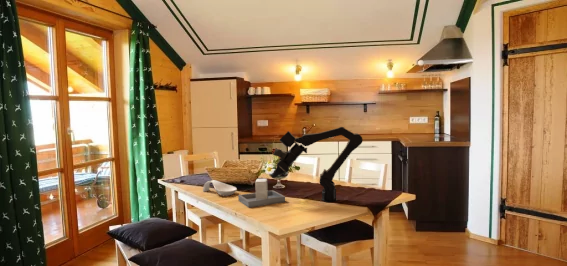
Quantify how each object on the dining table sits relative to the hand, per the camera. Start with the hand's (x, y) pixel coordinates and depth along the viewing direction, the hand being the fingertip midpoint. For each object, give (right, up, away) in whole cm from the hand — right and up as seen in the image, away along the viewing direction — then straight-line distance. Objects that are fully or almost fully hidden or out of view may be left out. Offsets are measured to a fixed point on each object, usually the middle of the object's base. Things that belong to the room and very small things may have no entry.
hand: (273, 175), depth 196 cm
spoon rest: (-32, -13, +23) cm, 41 cm away
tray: (-6, -14, +1) cm, 15 cm away
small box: (-6, -13, +1) cm, 14 cm away
